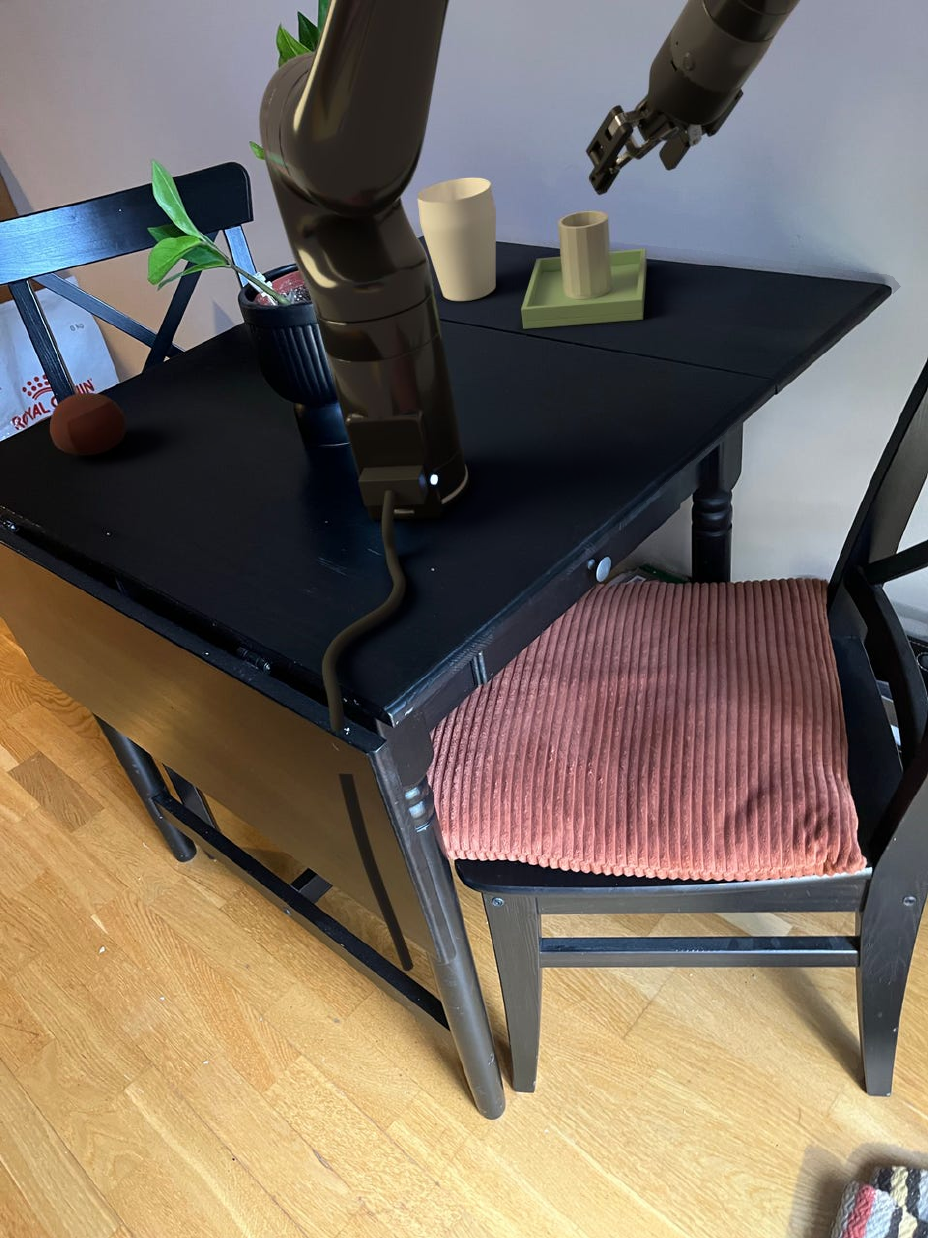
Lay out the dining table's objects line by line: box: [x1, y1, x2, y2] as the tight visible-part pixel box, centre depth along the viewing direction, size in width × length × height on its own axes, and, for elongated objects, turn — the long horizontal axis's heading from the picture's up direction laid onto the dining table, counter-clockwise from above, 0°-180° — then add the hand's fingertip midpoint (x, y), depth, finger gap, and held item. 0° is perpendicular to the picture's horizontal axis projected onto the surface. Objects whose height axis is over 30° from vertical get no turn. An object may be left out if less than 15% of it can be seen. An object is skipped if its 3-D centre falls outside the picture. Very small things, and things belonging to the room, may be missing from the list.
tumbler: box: [557, 210, 612, 300], centre depth 104 cm, size 6×6×8 cm
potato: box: [49, 392, 127, 457], centre depth 95 cm, size 7×8×6 cm
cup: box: [416, 177, 497, 302], centre depth 110 cm, size 9×9×12 cm
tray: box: [520, 248, 648, 330], centre depth 106 cm, size 15×13×2 cm
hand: (631, 174), depth 91 cm, fingers open, 8 cm apart
